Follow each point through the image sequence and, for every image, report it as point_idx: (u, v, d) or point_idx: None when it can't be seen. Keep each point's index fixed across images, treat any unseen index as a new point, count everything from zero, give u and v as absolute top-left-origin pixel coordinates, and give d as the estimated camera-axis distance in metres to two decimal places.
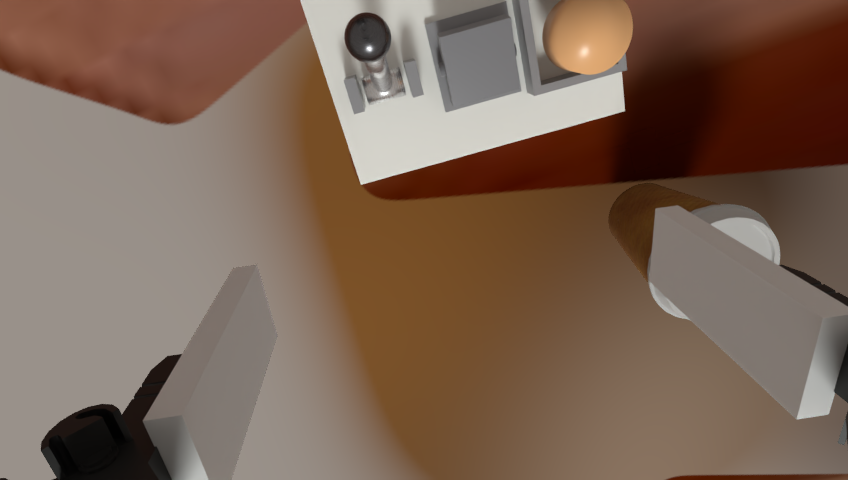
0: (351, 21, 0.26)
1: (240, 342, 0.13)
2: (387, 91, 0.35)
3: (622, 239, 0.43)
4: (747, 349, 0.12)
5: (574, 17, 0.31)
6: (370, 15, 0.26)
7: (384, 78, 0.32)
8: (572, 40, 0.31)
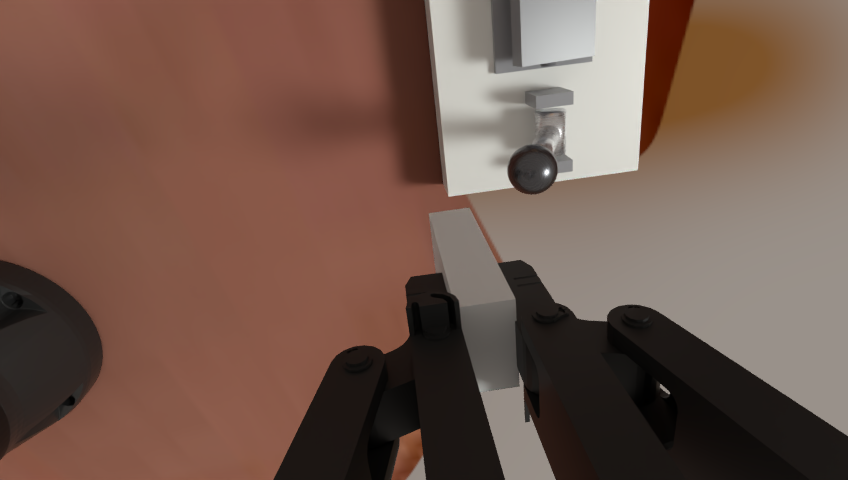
0: (516, 186, 0.25)
1: None
2: (559, 131, 0.32)
3: None
4: None
5: None
6: (514, 165, 0.25)
7: (555, 141, 0.29)
8: None
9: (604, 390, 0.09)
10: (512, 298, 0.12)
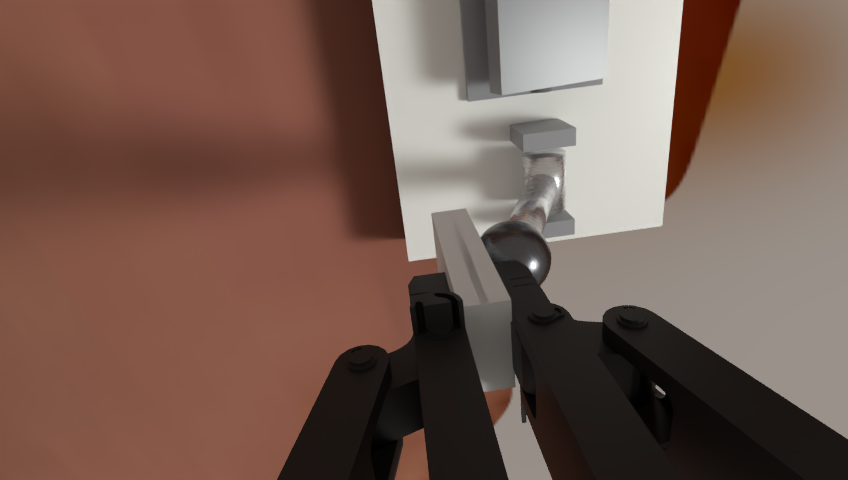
0: None
1: None
2: (556, 182, 0.23)
3: None
4: None
5: None
6: None
7: (549, 202, 0.20)
8: None
9: (600, 390, 0.09)
10: (507, 299, 0.12)
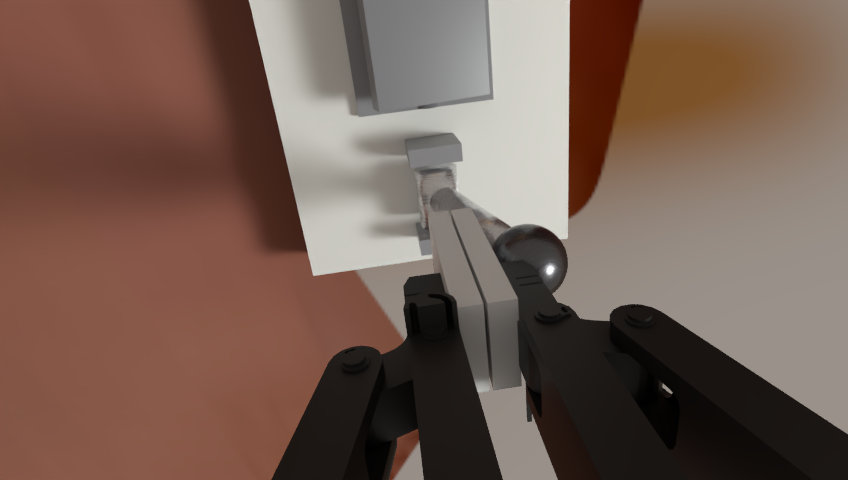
0: None
1: None
2: None
3: None
4: None
5: None
6: None
7: None
8: None
9: (606, 390, 0.09)
10: (514, 298, 0.12)
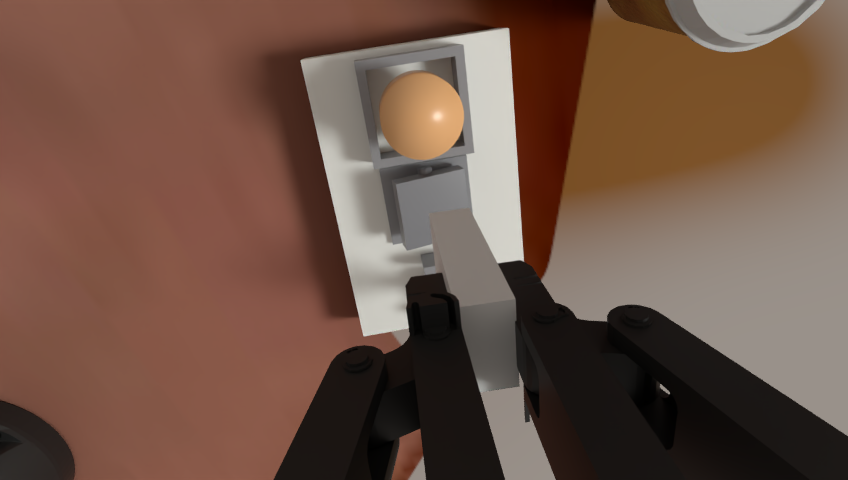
0: None
1: None
2: None
3: None
4: None
5: (404, 141, 0.29)
6: None
7: None
8: (425, 143, 0.30)
9: (604, 390, 0.09)
10: (512, 298, 0.12)
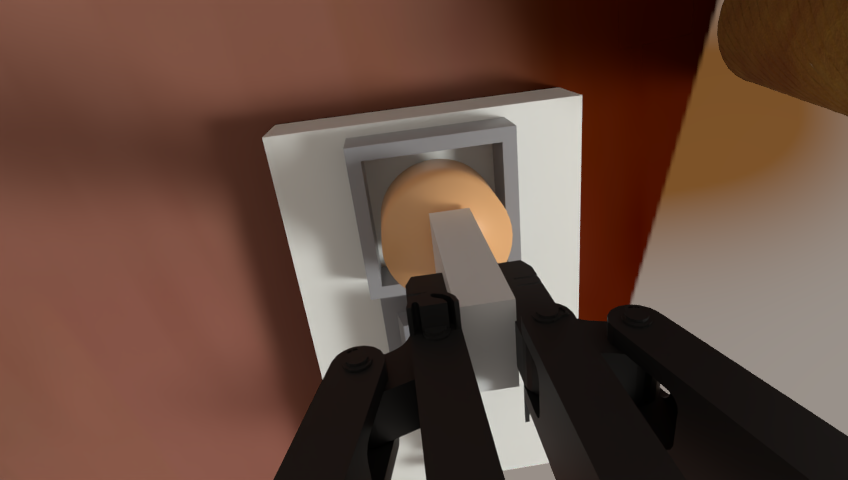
0: None
1: None
2: None
3: None
4: None
5: (418, 275, 0.19)
6: None
7: None
8: None
9: (604, 390, 0.09)
10: (512, 298, 0.12)
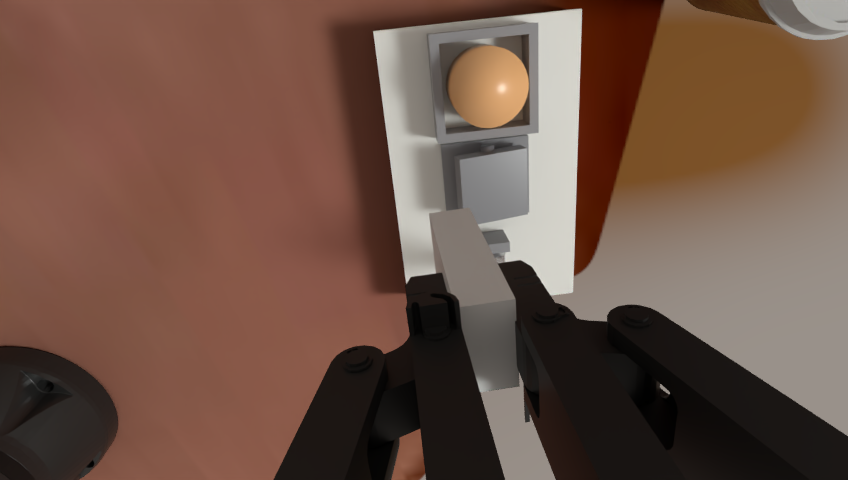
0: None
1: None
2: None
3: None
4: None
5: (470, 109, 0.32)
6: None
7: None
8: (490, 112, 0.32)
9: (604, 390, 0.09)
10: (512, 298, 0.12)
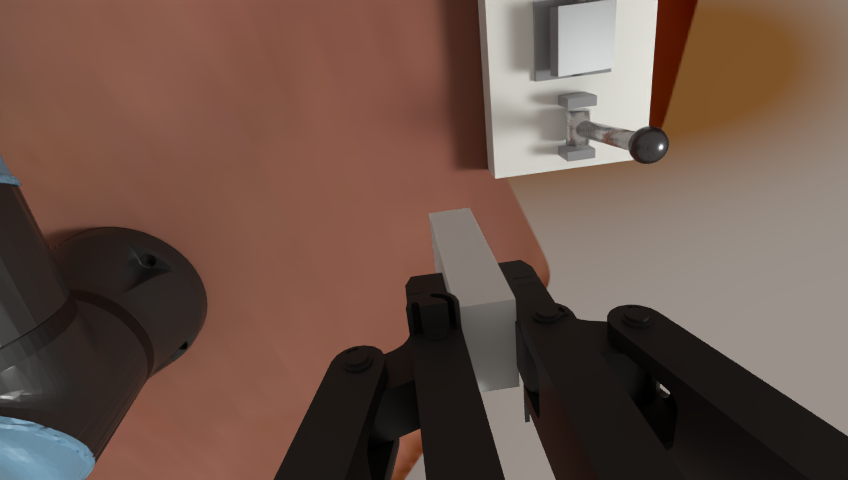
0: (648, 158, 0.33)
1: None
2: None
3: None
4: None
5: None
6: (650, 142, 0.33)
7: None
8: None
9: (604, 390, 0.09)
10: (512, 298, 0.12)
